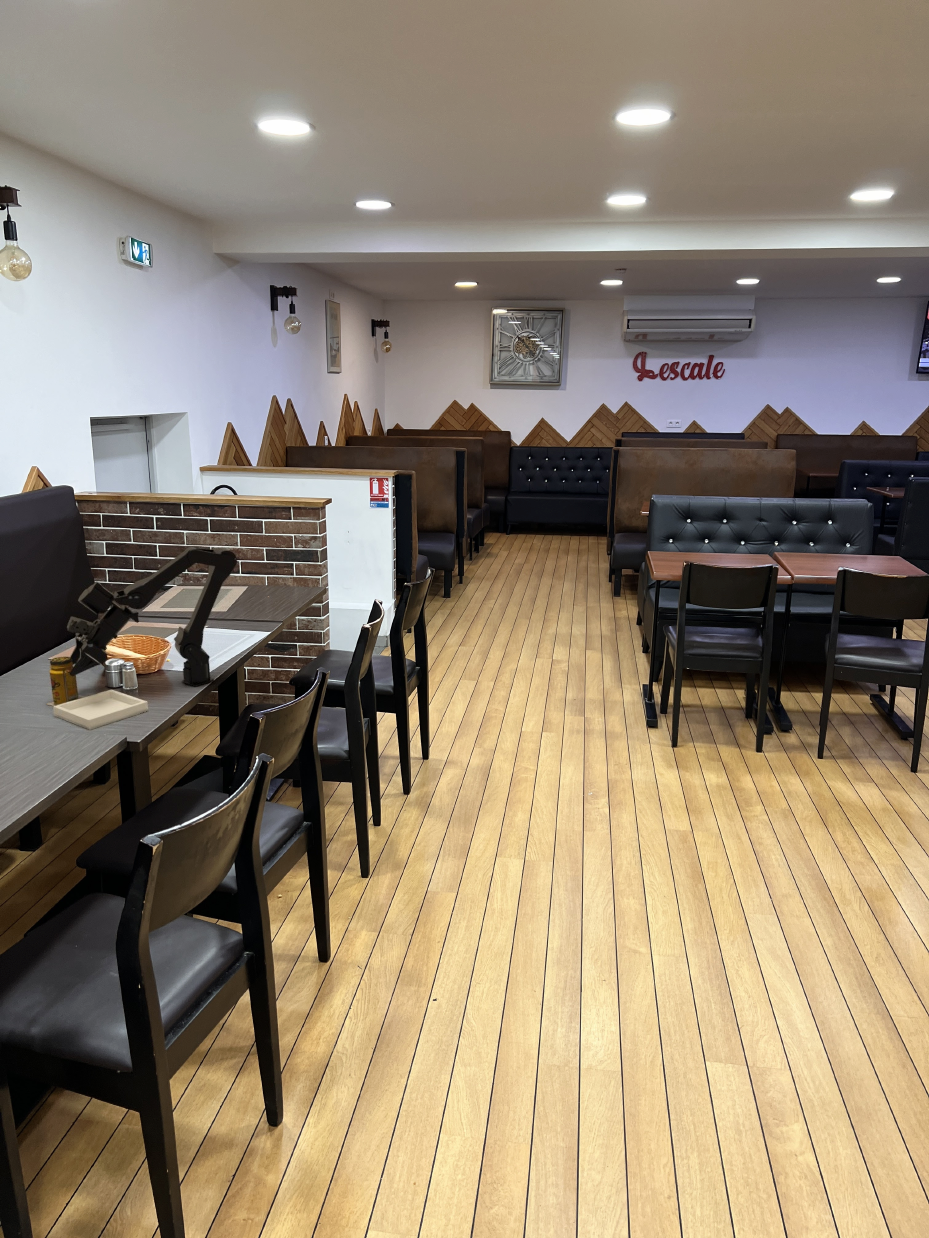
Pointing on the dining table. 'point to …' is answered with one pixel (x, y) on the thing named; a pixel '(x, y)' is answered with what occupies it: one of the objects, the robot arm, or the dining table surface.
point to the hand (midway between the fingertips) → (69, 670)
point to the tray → (100, 709)
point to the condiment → (63, 681)
